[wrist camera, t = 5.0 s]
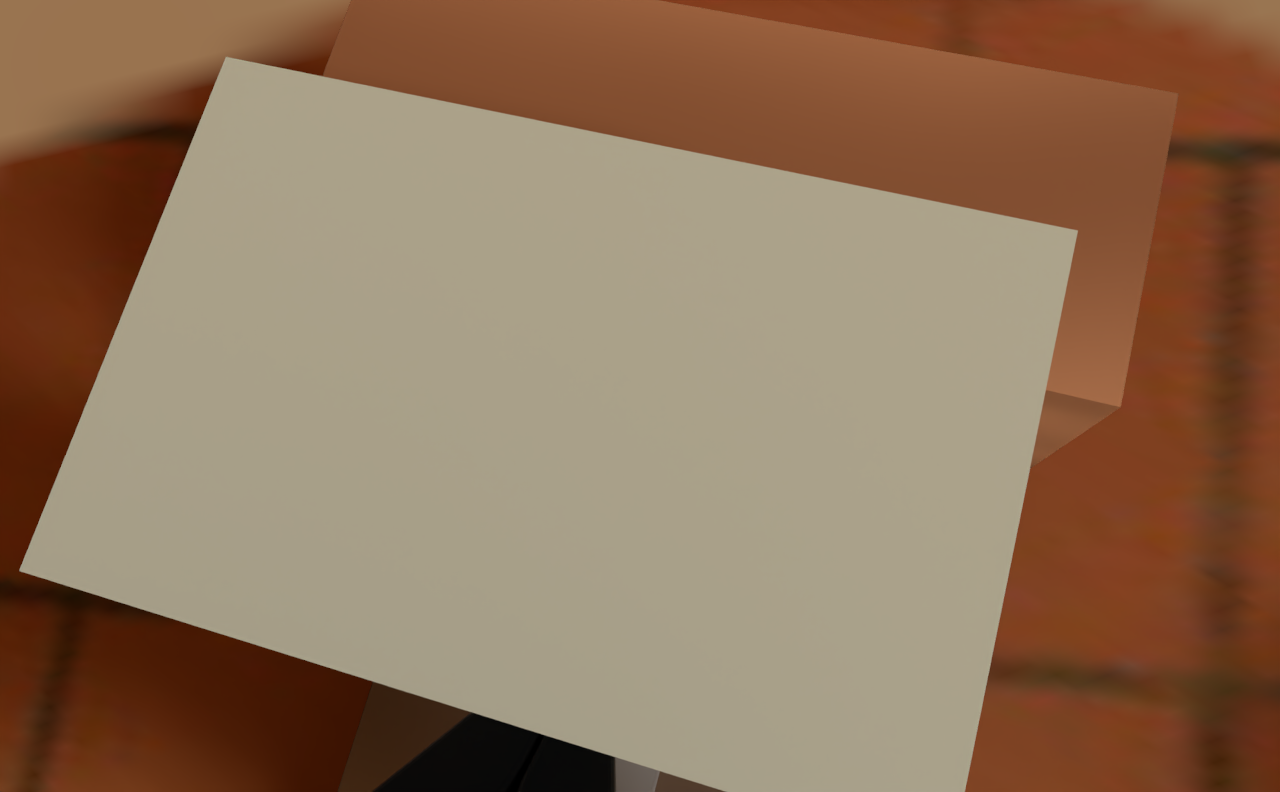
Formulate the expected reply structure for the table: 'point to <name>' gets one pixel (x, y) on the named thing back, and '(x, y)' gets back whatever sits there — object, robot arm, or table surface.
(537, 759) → the robot arm
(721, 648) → the block
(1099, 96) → the track
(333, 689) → the table surface
